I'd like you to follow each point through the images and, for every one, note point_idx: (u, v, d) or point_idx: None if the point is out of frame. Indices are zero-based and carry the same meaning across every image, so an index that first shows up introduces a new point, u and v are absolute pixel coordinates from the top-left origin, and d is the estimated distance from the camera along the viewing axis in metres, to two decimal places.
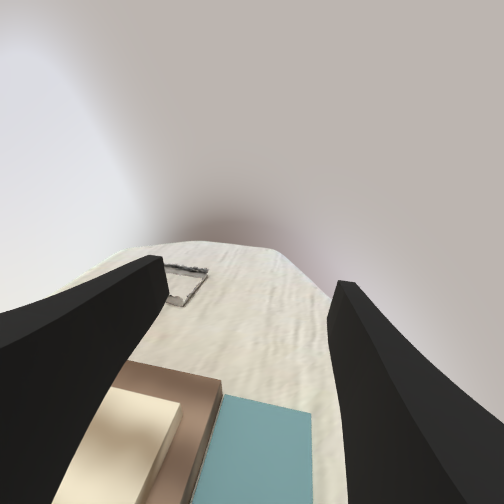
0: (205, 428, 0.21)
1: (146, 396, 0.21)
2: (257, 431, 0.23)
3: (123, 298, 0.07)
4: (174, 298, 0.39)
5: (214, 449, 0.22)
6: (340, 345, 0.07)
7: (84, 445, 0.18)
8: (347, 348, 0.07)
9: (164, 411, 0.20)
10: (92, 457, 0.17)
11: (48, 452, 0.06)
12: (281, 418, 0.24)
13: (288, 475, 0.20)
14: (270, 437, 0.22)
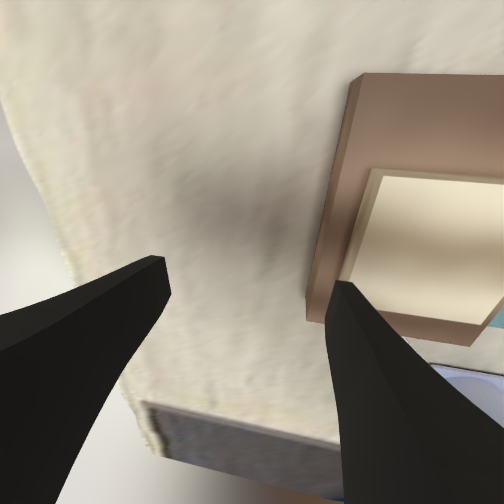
0: None
1: (494, 186, 0.10)
2: None
3: (126, 298, 0.07)
4: None
5: None
6: (337, 344, 0.07)
7: (394, 262, 0.12)
8: (344, 347, 0.07)
9: None
10: (415, 273, 0.12)
11: (51, 453, 0.06)
12: None
13: None
14: None
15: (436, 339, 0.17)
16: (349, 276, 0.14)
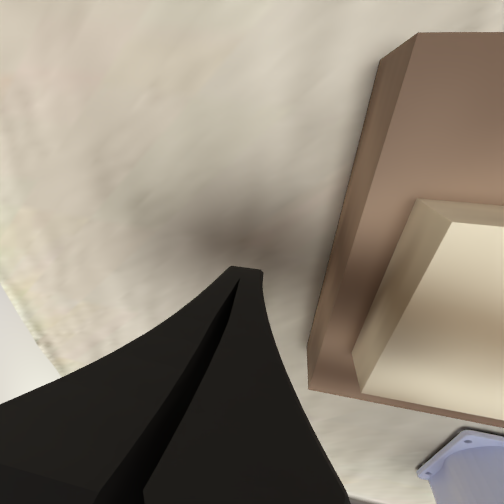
0: None
1: None
2: None
3: (226, 315, 0.07)
4: None
5: None
6: None
7: (451, 349, 0.08)
8: None
9: None
10: (484, 365, 0.08)
11: None
12: None
13: None
14: None
15: (487, 422, 0.12)
16: (375, 359, 0.09)
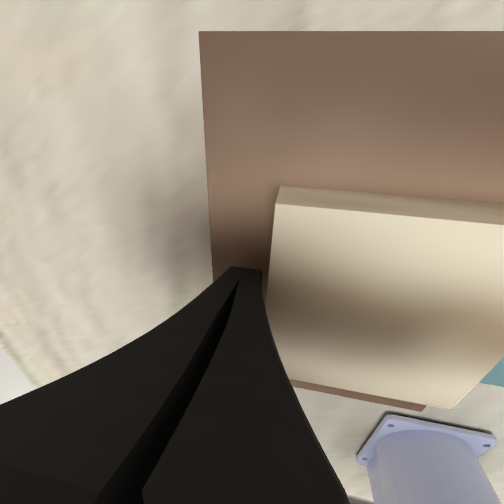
0: None
1: (457, 224, 0.06)
2: None
3: (227, 315, 0.07)
4: None
5: None
6: None
7: (319, 327, 0.08)
8: None
9: None
10: (350, 342, 0.08)
11: None
12: None
13: None
14: None
15: (378, 401, 0.13)
16: None
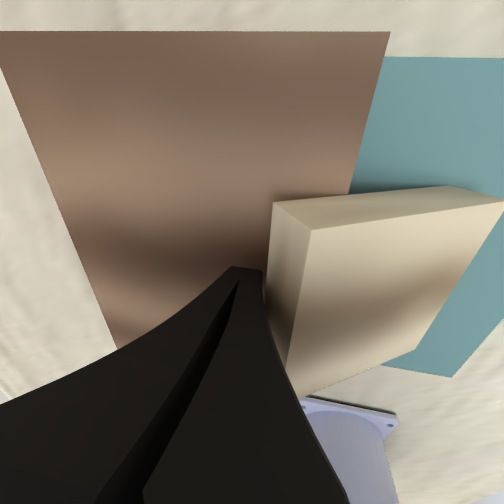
0: None
1: (443, 213, 0.07)
2: (468, 152, 0.09)
3: (226, 315, 0.07)
4: None
5: None
6: None
7: (337, 336, 0.08)
8: None
9: (477, 228, 0.08)
10: (361, 336, 0.09)
11: None
12: None
13: None
14: None
15: None
16: None
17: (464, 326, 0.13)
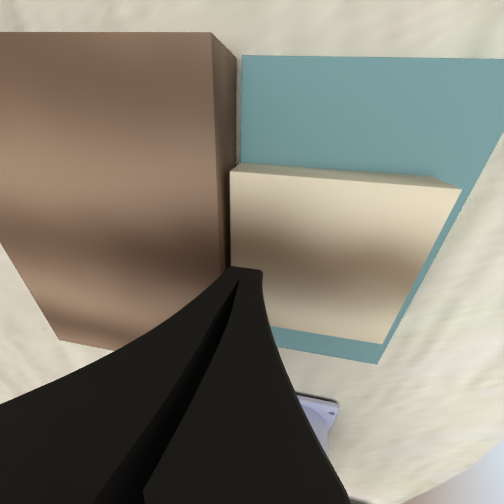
0: (218, 193, 0.09)
1: (355, 183, 0.08)
2: (343, 145, 0.09)
3: (226, 315, 0.07)
4: None
5: None
6: None
7: (272, 273, 0.11)
8: None
9: (417, 212, 0.08)
10: (297, 286, 0.11)
11: None
12: (420, 99, 0.08)
13: None
14: (377, 154, 0.09)
15: None
16: None
17: None
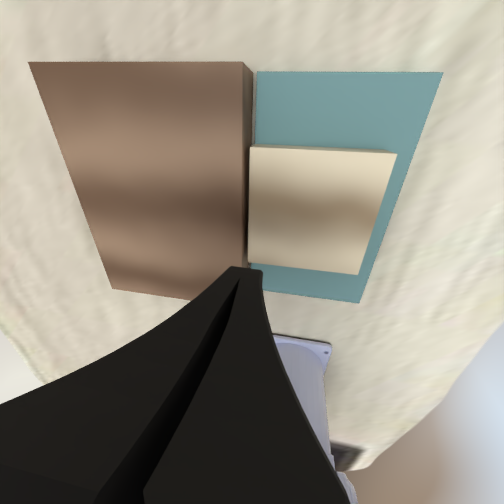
0: (242, 162, 0.13)
1: (331, 152, 0.13)
2: (324, 129, 0.14)
3: (226, 315, 0.07)
4: None
5: None
6: None
7: (278, 221, 0.15)
8: None
9: (371, 170, 0.13)
10: (295, 230, 0.15)
11: None
12: (372, 98, 0.13)
13: None
14: (347, 135, 0.14)
15: None
16: None
17: None
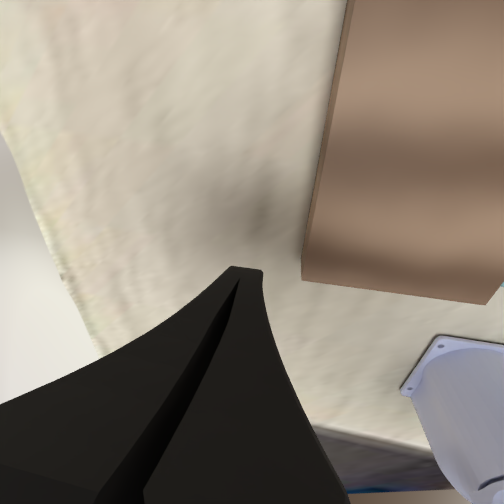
0: None
1: None
2: None
3: (226, 315, 0.07)
4: None
5: None
6: None
7: None
8: None
9: None
10: None
11: None
12: None
13: None
14: None
15: (447, 297, 0.15)
16: None
17: None
